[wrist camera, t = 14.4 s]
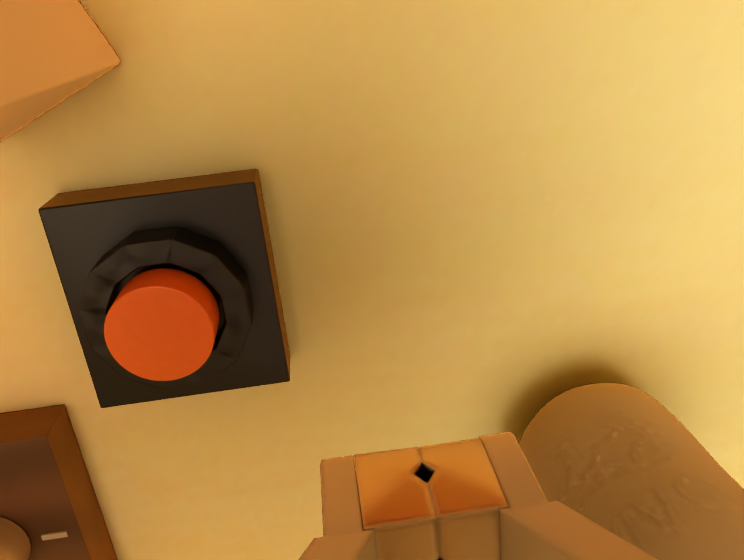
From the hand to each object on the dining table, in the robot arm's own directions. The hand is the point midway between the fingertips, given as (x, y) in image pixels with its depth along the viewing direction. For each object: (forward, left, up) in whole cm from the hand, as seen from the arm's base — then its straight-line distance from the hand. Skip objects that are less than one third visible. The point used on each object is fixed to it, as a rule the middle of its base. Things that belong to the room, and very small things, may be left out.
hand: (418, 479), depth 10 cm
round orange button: (-6, +9, -21) cm, 24 cm away
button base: (-6, +9, -25) cm, 27 cm away
